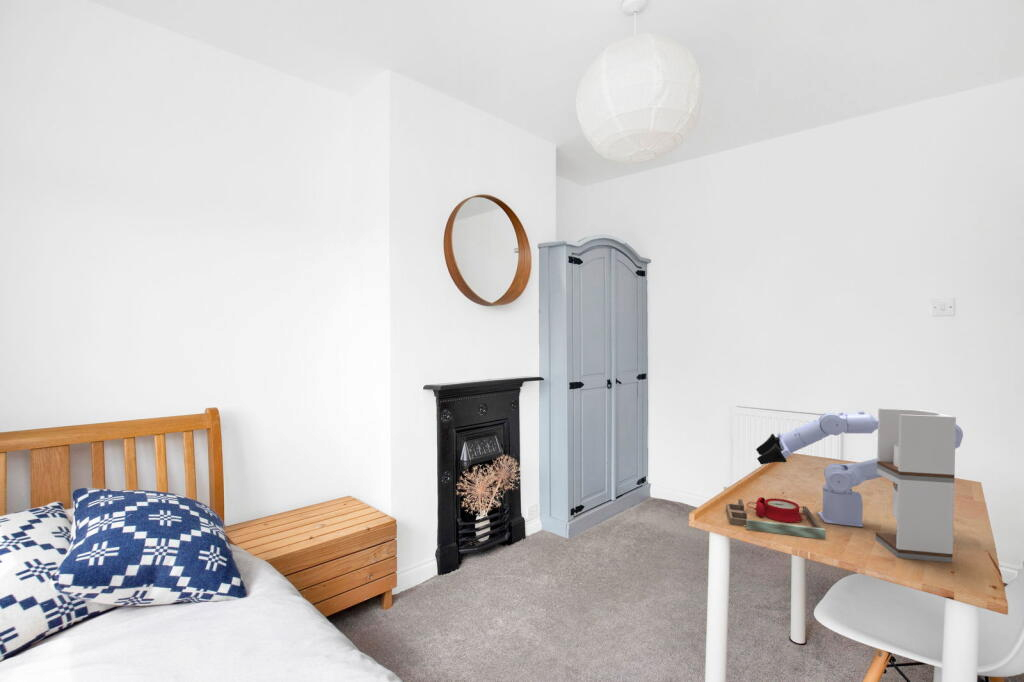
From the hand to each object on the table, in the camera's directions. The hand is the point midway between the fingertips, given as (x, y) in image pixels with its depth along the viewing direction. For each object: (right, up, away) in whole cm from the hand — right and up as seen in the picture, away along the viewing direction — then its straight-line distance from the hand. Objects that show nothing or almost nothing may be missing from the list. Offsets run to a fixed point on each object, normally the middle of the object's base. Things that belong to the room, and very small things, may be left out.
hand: (758, 456), depth 154 cm
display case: (+24, -17, -30) cm, 42 cm away
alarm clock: (+2, -17, -7) cm, 18 cm away
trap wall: (0, -16, -10) cm, 19 cm away
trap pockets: (-11, -16, -9) cm, 21 cm away
